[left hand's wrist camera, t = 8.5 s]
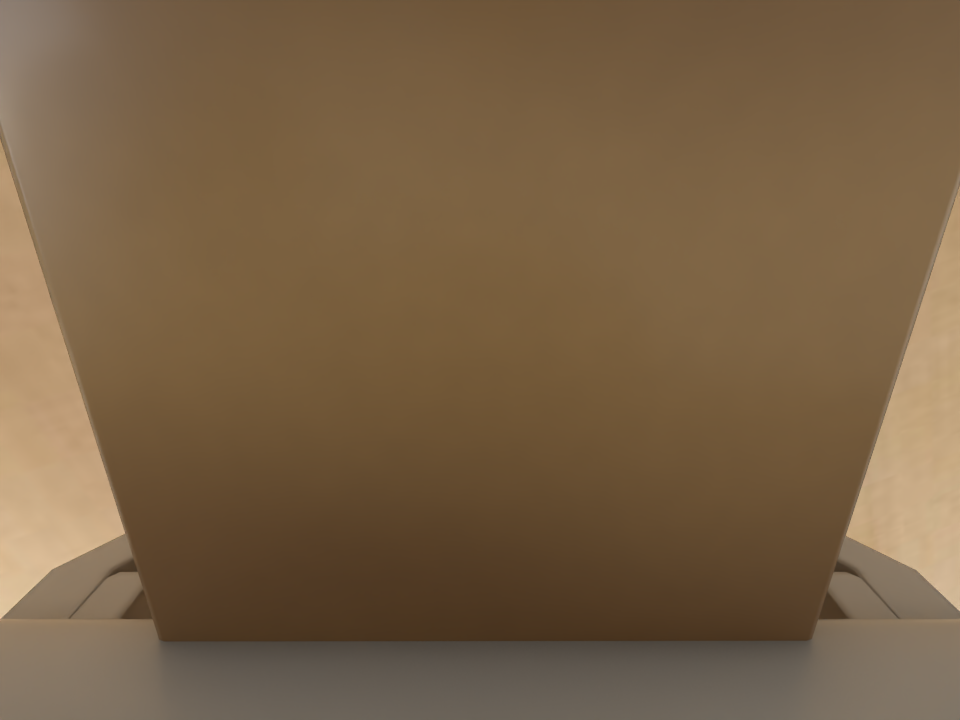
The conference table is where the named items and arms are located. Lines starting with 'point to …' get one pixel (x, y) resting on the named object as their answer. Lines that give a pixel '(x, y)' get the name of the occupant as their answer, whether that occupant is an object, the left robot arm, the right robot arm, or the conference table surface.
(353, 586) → the box
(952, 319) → the conference table surface
